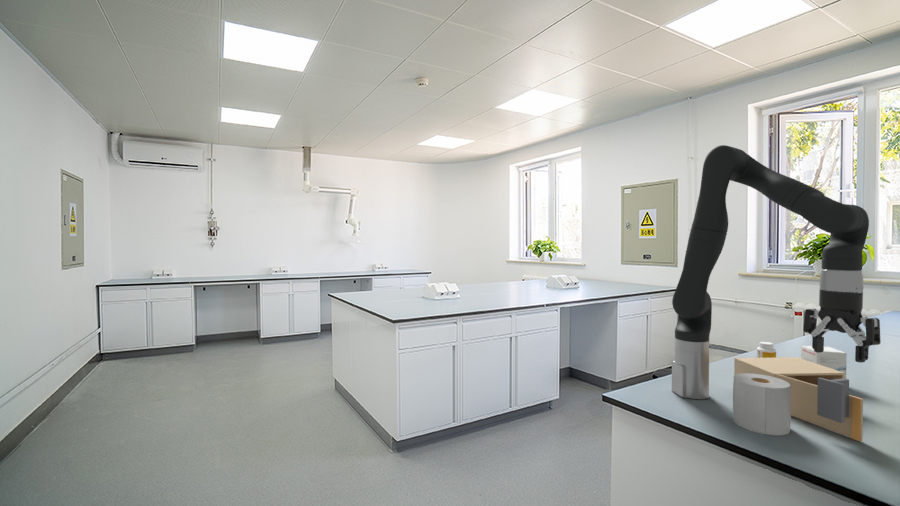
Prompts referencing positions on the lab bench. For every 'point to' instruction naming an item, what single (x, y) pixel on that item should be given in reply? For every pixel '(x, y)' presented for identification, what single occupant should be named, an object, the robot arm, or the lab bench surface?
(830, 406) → the carton flap
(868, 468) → the lab bench surface
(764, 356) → the supplement bottle
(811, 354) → the ink box
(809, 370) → the carton
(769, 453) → the lab bench surface
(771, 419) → the toilet paper roll
